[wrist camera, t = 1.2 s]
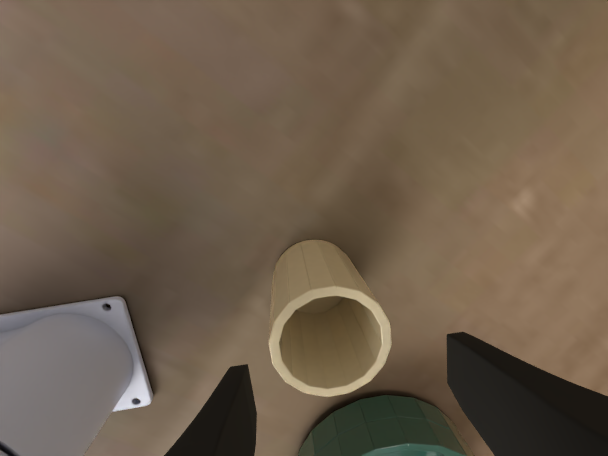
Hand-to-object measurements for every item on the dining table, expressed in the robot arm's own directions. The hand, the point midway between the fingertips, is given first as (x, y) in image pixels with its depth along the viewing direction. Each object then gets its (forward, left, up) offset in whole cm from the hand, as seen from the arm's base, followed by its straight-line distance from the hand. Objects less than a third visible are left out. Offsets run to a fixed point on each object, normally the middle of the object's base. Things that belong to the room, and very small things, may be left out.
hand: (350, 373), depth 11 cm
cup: (0, 0, -10) cm, 10 cm away
